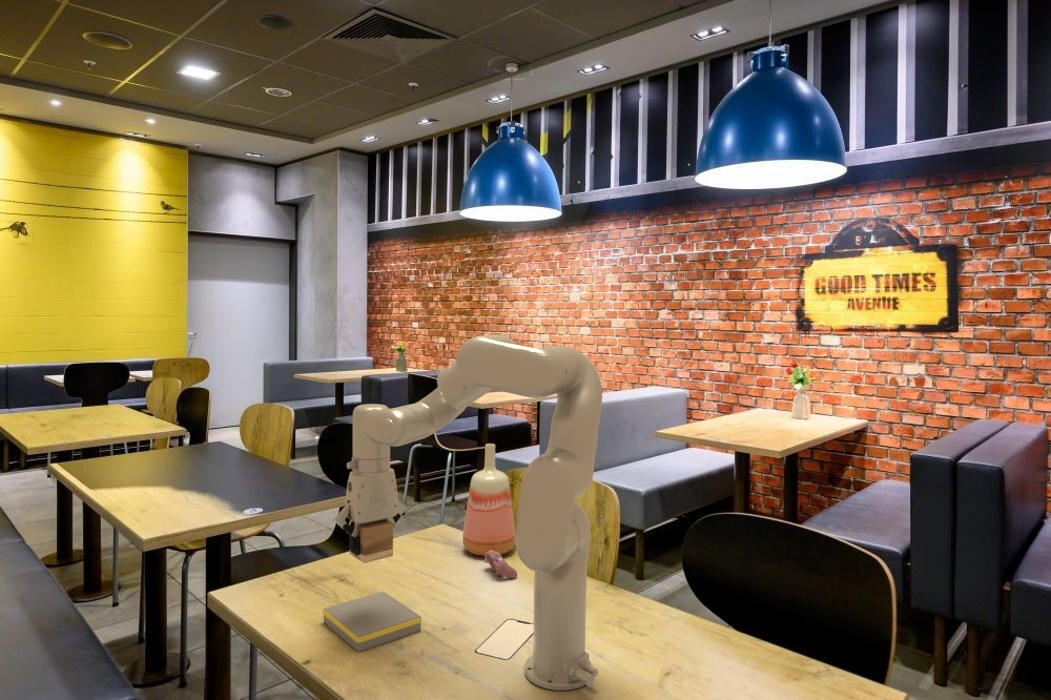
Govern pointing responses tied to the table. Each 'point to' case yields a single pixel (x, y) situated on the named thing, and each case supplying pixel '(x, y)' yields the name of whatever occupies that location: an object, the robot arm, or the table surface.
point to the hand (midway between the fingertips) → (371, 548)
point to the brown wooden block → (375, 541)
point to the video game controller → (499, 564)
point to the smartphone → (506, 639)
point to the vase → (489, 510)
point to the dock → (371, 620)
